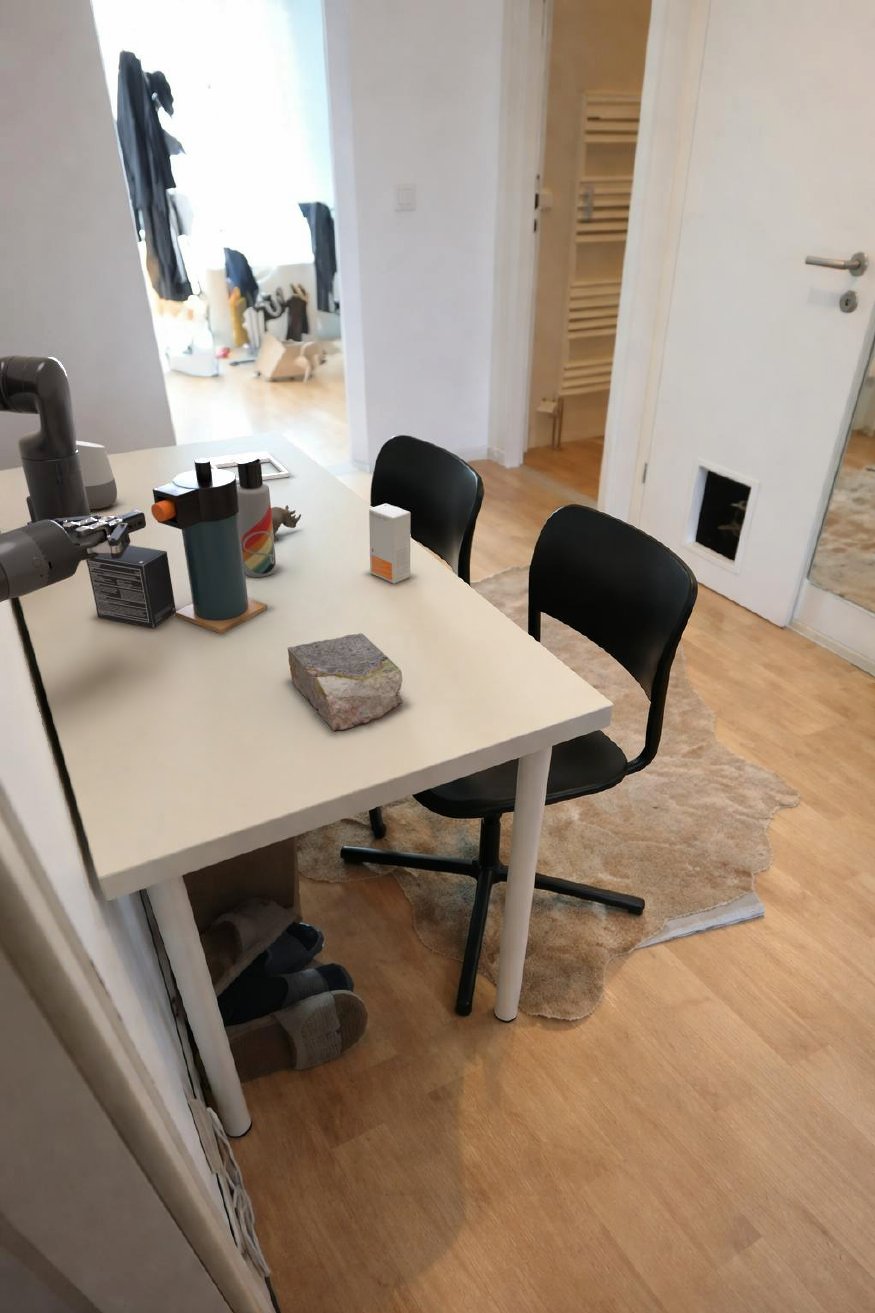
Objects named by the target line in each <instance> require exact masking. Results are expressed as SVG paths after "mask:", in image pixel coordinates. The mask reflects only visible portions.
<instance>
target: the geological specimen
mask: <svg viewBox="0 0 875 1313" xmlns="http://www.w3.org/2000/svg"><path fill="white" fill-rule="evenodd" d="M287 654H288V665H289V671H290V678H291V682H292V684H293V686H294V687H295V688H297V690H298V691H299V692H300V694H301V695H302V696H303V697H304V698H305V699H306V700H307V701H309V702H310V704H311V706H313V708H314V709H315V710H317V711H318V714H319V715H320V716H321V717H322V718H323V720H324V721H325V722H326V724H327V725H329V727H330V729H332V731H337V730H339V731H343V730H348V729H350V728H351V729H352V728H353V727H355V726H357V725H359V724H368V723H369V722H370V721H371V720H375V719H378V718H381V717H382V716H383V715H384V714H386V713H388V712H389V711H391V710H393V708H394V709H395V708H396V707H398V705H402V704H403V699H402V696H401V695H400V690H402V684H403V674H402V670H401V668H400V667H399V666H398V665H396V663H395V662H393V660H391V659H390V657H388V656H387V655H386V654H384V652H383V651H382V650H381V649H380V648H379V647H378V646H376V645H375V643H374V642H373V641H371V640H370V639H369V638H368V637H367V636H366V635H365V634H363V633H362V632H361V633H354V634H347V635H344V636H341V637H335V638H330V639H325V640H317V641H313V642H309V643H304V644H299V645H294V646H288V647H287Z"/></svg>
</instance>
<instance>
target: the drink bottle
mask: <svg viewBox="0 0 875 1313" xmlns="http://www.w3.org/2000/svg"><path fill="white" fill-rule="evenodd" d="M193 463H194V470H188V471H185V472H181V473H179V474H177V475H175V476H174V477H173V479H172V482H169V483H166V484H164V485H161V486H159V487H154V488H152V494H153V495H152V496H153V502H154V504H155V503H158V502H161V501H163V500H166V499H170V500H174V506H175V512H176V517H173V518H171V519H168V520H165V521H163V522H159V521H157V523H159V524H162V525H165V526H169V527H172V528H174V529H178V530H181V535H182V541H183V549H184V555H185V562H186V570H187V574H188V575H187V576H188V582H189V588H190V597H191V602H192V603H193V610H194V613H195V614H196V615H197V616H198V617H200V618H202V619H206V620H227V619H232V618H235V617H238V616H240V615H242V614H243V613H245V612H246V611H247V609H248V606H249V604H248V598H249V597H248V587H247V578H246V574H245V568H244V559H243V550H242V541H241V532H240V523H239V514H238V512H239V502H238V492H237V485H238V483H236V478H237V476H236V474H235V473H233V472H232V471H228V470H225V469H220V468H217V469H211V463H210V459H206V458H205V457H204V458H203V457H201V458H197V459H195V460H194V462H193ZM192 603H191V604H192Z"/></svg>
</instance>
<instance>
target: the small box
mask: <svg viewBox="0 0 875 1313" xmlns="http://www.w3.org/2000/svg"><path fill="white" fill-rule="evenodd" d="M85 562H86V565H87V569H88V574H89V579H90V585H91V588H92V593H93V598H94V604H95V608H96V614H97V615H96V616H97V618H100V619H104V620H105V619H106V620H110V621H114V622H119V623H120V622H121V623H125V624H132V625H136V626H141V627H147V628H151V629H154V628H156V627H157V626H158V625H160V624H161V623H162V622H164V621H166V620H167V619H168V618H169V617H171V616H173V615H175V612H176V611H177V609H176V602H175V595H174V590H173V582H172V577H171V571H170V562H169V557H168V550H163V549H156V548H150V547H149V548H148V547H143V546H137V545H131V544H129V546H128V547H127V549H126V550H125V552H124V554H123V555H122V557H121V558H118V559H113V558H112V557H111V554H110V553H100V554H99V555H98V556H97V557H95V558H92V559H89V560H85Z"/></svg>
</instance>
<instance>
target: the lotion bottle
mask: <svg viewBox="0 0 875 1313" xmlns="http://www.w3.org/2000/svg"><path fill="white" fill-rule="evenodd" d="M262 475H263V470H262V463H261V461H260V459H259V458H258V457H246V458H243V459H241V460H239V461H238V462H237V476H238V478H239V483H238V484H237V492H238V502H239V512H238V514H239V523H240V532H241V541H242V550H243V559H244V568H245V576H248V577H251V578H265V577H268V576H271V575H273V574H274V573H275V572H276V570H277V561H276V559H277V558H276V548H275V541H274V536H273V525H272V514H271V508H272V504H271V495H270V494H271V493H270V487H269V485H268V484H266V483H264V482H263V481H264V480H262Z"/></svg>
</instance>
